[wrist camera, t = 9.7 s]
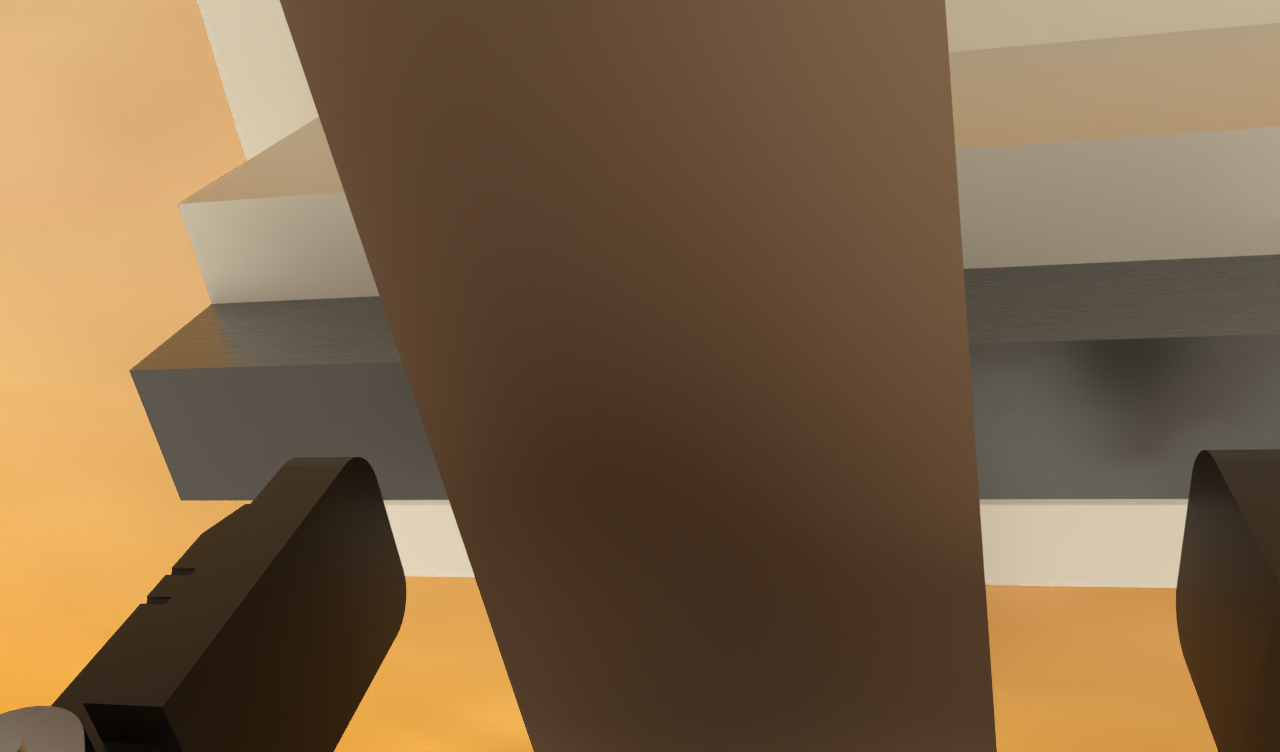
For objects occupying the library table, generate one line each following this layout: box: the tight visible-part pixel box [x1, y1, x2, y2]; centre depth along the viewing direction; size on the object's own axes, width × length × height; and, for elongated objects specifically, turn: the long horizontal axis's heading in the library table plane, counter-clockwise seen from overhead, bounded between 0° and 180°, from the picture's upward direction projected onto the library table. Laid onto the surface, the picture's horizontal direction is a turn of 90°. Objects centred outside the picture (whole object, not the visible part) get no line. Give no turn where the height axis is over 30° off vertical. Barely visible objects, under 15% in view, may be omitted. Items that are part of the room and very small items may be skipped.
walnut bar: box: [280, 0, 997, 752], centre depth 11 cm, size 4×22×4 cm, turn 11°
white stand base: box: [129, 0, 1280, 588], centre depth 16 cm, size 20×16×8 cm
